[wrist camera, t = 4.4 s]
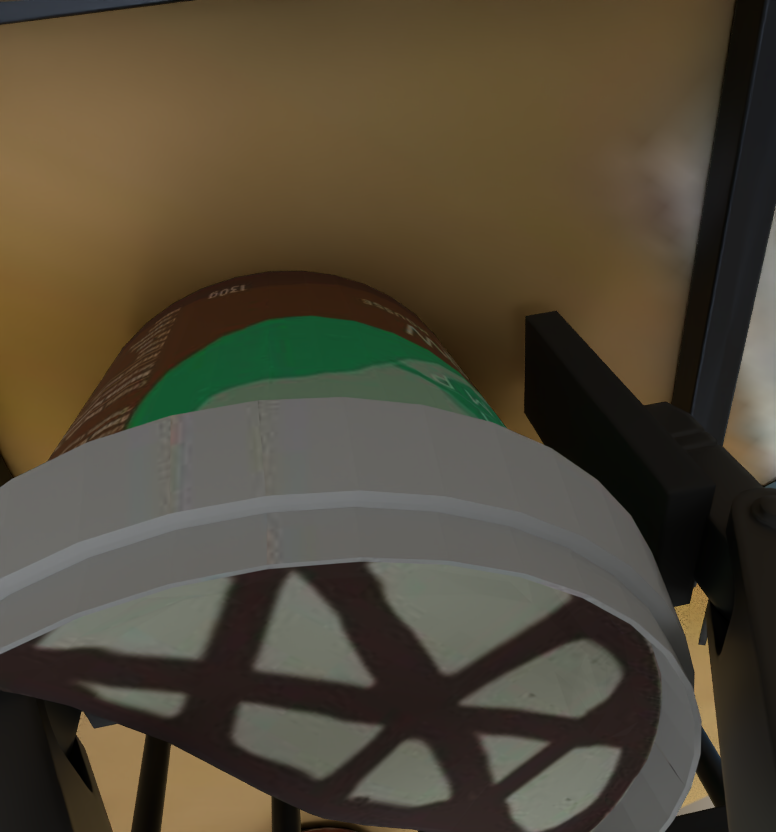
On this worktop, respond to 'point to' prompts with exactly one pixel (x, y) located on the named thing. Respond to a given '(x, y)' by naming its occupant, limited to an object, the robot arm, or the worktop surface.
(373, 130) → the worktop surface
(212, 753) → the food container
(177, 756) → the worktop surface
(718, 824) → the dish rack
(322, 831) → the supplement bottle
